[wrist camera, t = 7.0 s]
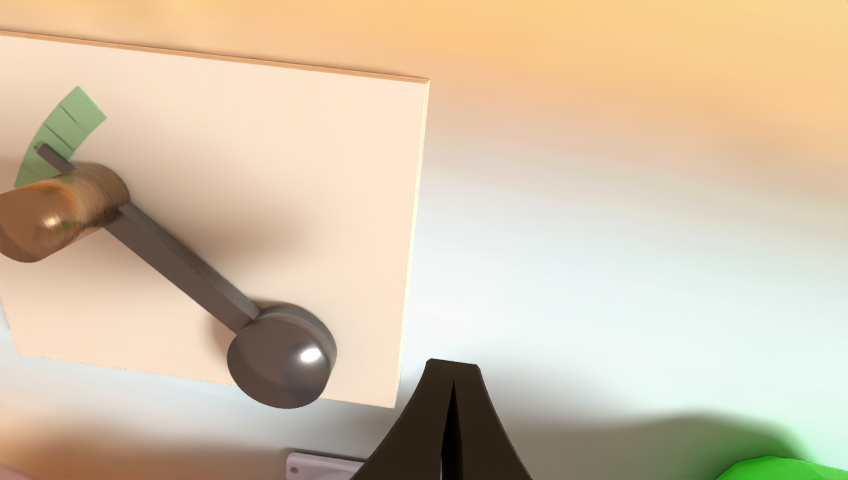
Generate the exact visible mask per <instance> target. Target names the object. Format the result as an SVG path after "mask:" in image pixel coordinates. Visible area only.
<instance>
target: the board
mask: <svg viewBox="0 0 848 480" xmlns="http://www.w3.org/2000/svg"><path fill="white" fill-rule="evenodd" d="M429 85H430V79H424V78H415V77H406V76H398V75H389V74H380V73H371V72H363V71H354V70H345V69H336V68H328V67H319V66H310V65H301V64H292V63H284V62H275V61H266V60H257V59H249V58H240V57H231V56H222V55H214V54H205V53H196V52H187V51H178V50H170V49H161V48H152V47H143V46H135V45H126V44H117V43H108V42H99V41H91V40H82V39H73V38H64V37H56V36H47V35H38V34H29V33H21V32H12V31H3V30H0V194H2V193H5V192H8V191H11V190H14V189H17V188H20V187H23V186H26V185H29V184H32V183H35V182H38V181H41V180H44V179H47V178H50V177H53V176H56V175H59V174H62V173H61V172H59V171H58V170H57V169H56V168H54V167H53V166H52V165H51V164H49V163H48V162H47V161H46V160H45V159H43V158H42V157H41V156H40V155H38V154H37V151H38V150H39V148H40V147H41V145H42V144H45V143H47V144H48V145H49V146H50V147H52V148H53V149H54V150H55V151H57V152H58V153H59V154H60V155H61V156H63V157H64V158H65V159H66V160H67V161H69V162H70V163H71V164H72V165H74V166H75V167H76V168H79V167H82V166H85V165H90V164H97V165H102V166H104V167H107V168H109V169H111V170H112V171H114V172H115V173H116V174H117V175H118V176H120V178H121V179H122V180H123V181H124V183H125V184H126V186H127V188H128V190H129V193H130V198H131V202H132V203H133V204H134V205H136V206H137V207H138V208H139V209H140V210H142V211H143V212H144V213H145V214H146V215H148V216H149V217H150V218H151V219H152V220H154V221H155V222H156V223H157V224H159V225H160V226H161V227H162V228H163V229H165V230H166V231H167V232H168V233H169V234H171V235H172V236H173V237H174V238H175V239H177V240H178V241H179V242H180V243H181V244H183V245H184V246H185V247H186V248H187V249H189V250H190V251H191V252H192V253H193V254H195V255H196V256H197V257H198V258H199V259H201V260H202V261H203V262H204V263H205V264H207V265H208V266H209V267H210V268H212V269H213V270H214V271H215V272H216V273H218V274H219V275H220V276H221V277H222V278H224V279H225V280H226V281H227V282H228V283H230V284H231V285H232V286H233V287H234V288H236V289H237V290H238V291H239V292H240V293H242V294H243V295H244V296H245V297H246V298H248V299H249V300H250V301H251V302H252V303H254V304H255V305H256V306H257V307H258V308H260V309H261V310H262V309H264V308H267V307H271V306H291V307H296V308H299V309H302V310H304V311H307V312H309V313H311V314H312V315H314V316H315V317H317V318H318V319H319V320H321V321H322V322H323V323H324V324H325V325H326V327H327V328H328V329H329V330H330V332H331V334H332V335H333V338H334V340H335V343H336V347H337V358H336V362H335V365H334V368H333V370H332V373H331V375H330V377H329V380H328V382H327V385H326V387H325V389H324V391H323V393H322V394H321V395H320V396H319V397H318V398H325V399H332V400H339V401H346V402H353V403H359V404H366V405H373V406H380V407H387V408H394V407H395V402H396V397H397V392H398V387H399V383H400V375H401V365H402V355H403V345H404V335H405V325H406V315H407V305H408V295H409V285H410V275H411V265H412V255H413V245H414V235H415V225H416V215H417V205H418V195H419V185H420V175H421V165H422V155H423V145H424V135H425V125H426V115H427V105H428V95H429ZM0 297H1V300H2V303H3V307H4V310H5V313H6V316H7V320H8V323H9V326H10V329H11V333H12V336H13V339H14V342H15V346H16V349H17V352H18V354H20V355H27V356H34V357H41V358H48V359H55V360H62V361H69V362H76V363H82V364H89V365H96V366H103V367H110V368H117V369H124V370H131V371H138V372H145V373H152V374H159V375H166V376H172V377H179V378H186V379H193V380H200V381H207V382H214V383H221V384H228V385H235V386H238V385H237V384H236V383H235V382H234V380H233V378H232V377H231V374H230V372H229V369H228V366H227V352H228V348H229V346H230V344H231V342H232V340H233V339H234V338H235V336H236V334H235V333H234V332H233V331H231V330H230V329H229V328H228V327H226V326H225V325H224V324H223V323H221V322H220V321H219V320H218V319H216V318H215V317H214V316H213V315H211V314H210V313H209V312H208V311H206V310H205V309H204V308H203V307H201V306H200V305H199V304H198V303H196V302H195V301H194V300H193V299H191V298H190V297H189V296H188V295H186V294H185V293H184V292H183V291H182V290H180V289H179V288H178V287H177V286H175V285H174V284H173V283H172V282H170V281H169V280H168V279H167V278H165V277H164V276H163V275H162V274H160V273H159V272H158V271H157V270H155V269H154V268H153V267H152V266H150V265H149V264H148V263H147V262H145V261H144V260H143V259H142V258H140V257H139V256H138V255H137V254H135V253H134V252H133V251H132V250H130V249H129V248H128V247H127V246H125V245H124V244H123V243H122V242H120V241H119V240H118V239H117V238H115V237H114V236H113V235H112V234H110V233H109V232H108V231H107V230H105V229H104V228H101V229H100V230H98V231H96V232H94V233H92V234H90V235H88V236H86V237H84V238H82V239H80V240H78V241H77V242H75V243H73V244H71V245H69V246H67V247H65V248H63V249H61V250H59V251H57V252H55V253H54V254H52V255H50V256H48V257H46V258H44V259H42V260H40V261H38V262H34V263H22V262H18V261H15V260H12V259H10V258H8V257H6V256H5V255H3V254H2V253H0Z"/></svg>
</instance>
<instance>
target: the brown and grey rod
mask: <svg viewBox="0 0 848 480" xmlns="http://www.w3.org/2000/svg"><path fill="white" fill-rule="evenodd" d="M37 154H38V155H40V156H41V157H42V158H43V159H45V160H46V161H47V162H48V163H49V164H51V165H52V166H53V167H54V168H56V169H57V170H58V171H59V172H61V173H62V174H59V175H56V176H53V177H50V178H47V179H44V180H41V181H38V182H35V183H32V184H29V185H26V186H23V187H20V188H17V189H14V190H11V191H8V192H5V193H2V194H0V253H2V254H3V255H5V256H6V257H8V258H10V259H12V260H15V261H18V262H22V263H34V262H38V261H40V260H42V259H44V258H46V257H48V256H50V255H52V254H54V253H55V252H57V251H59V250H61V249H63V248H65V247H67V246H69V245H71V244H73V243H75V242H77V241H78V240H80V239H82V238H84V237H86V236H88V235H90V234H92V233H94V232H96V231H98V230H100V229H101V228H104V229H105V230H107V231H108V232H109V233H110V234H112V235H113V236H114V237H115V238H117V239H118V240H119V241H120V242H122V243H123V244H124V245H125V246H127V247H128V248H129V249H130V250H132V251H133V252H134V253H135V254H137V255H138V256H139V257H140V258H142V259H143V260H144V261H145V262H147V263H148V264H149V265H150V266H152V267H153V268H154V269H155V270H157V271H158V272H159V273H160V274H162V275H163V276H164V277H165V278H167V279H168V280H169V281H170V282H172V283H173V284H174V285H175V286H177V287H178V288H179V289H180V290H182V291H183V292H184V293H185V294H186V295H188V296H189V297H190V298H191V299H193V300H194V301H195V302H196V303H198V304H199V305H200V306H201V307H203V308H204V309H205V310H206V311H208V312H209V313H210V314H211V315H213V316H214V317H215V318H216V319H218V320H219V321H220V322H221V323H223V324H224V325H225V326H226V327H228V328H229V329H230V330H231V331H233V332H234V333H235V334H236V336H235V338H234V339H233V340H232V342H231V344H230V346H229V348H228V352H227V366H228V369H229V372H230V374H231V377H232V378H233V380H234V382H235V383H236V384H237V385H238V387H239V388H240V389H241V390H242V391H243V392H244V393H246V394H247V395H248V396H250V397H251V398H253V399H254V400H256V401H258V402H260V403H262V404H265V405H268V406H271V407H276V408H283V409H291V408H298V407H302V406H305V405H308V404H310V403H312V402H313V401H315V400H316V399H317V398H318V397H319V396H320V395H321V394H322V393H323V391H324V389H325V387H326V385H327V382H328V380H329V377H330V375H331V373H332V370H333V368H334V365H335V362H336V358H337V347H336V343H335V340H334V338H333V335H332V334H331V332H330V330H329V329H328V328H327V327H326V325H325V324H324V323H323V322H322V321H321V320H319V319H318V318H317V317H315V316H314V315H312V314H311V313H309V312H307V311H304V310H302V309H299V308H296V307H291V306H271V307H267V308H264V309H262V310H261V309H260V308H258V307H257V306H256V305H255V304H254V303H252V302H251V301H250V300H249V299H248V298H246V297H245V296H244V295H243V294H242V293H240V292H239V291H238V290H237V289H236V288H234V287H233V286H232V285H231V284H230V283H228V282H227V281H226V280H225V279H224V278H222V277H221V276H220V275H219V274H218V273H216V272H215V271H214V270H213V269H212V268H210V267H209V266H208V265H207V264H205V263H204V262H203V261H202V260H201V259H199V258H198V257H197V256H196V255H195V254H193V253H192V252H191V251H190V250H189V249H187V248H186V247H185V246H184V245H183V244H181V243H180V242H179V241H178V240H177V239H175V238H174V237H173V236H172V235H171V234H169V233H168V232H167V231H166V230H165V229H163V228H162V227H161V226H160V225H159V224H157V223H156V222H155V221H154V220H152V219H151V218H150V217H149V216H148V215H146V214H145V213H144V212H143V211H142V210H140V209H139V208H138V207H137V206H136V205H134V204H133V203H132V202H131V198H130V193H129V190H128V188H127V186H126V184H125V183H124V181H123V180H122V179H121V178H120V176H118V175H117V174H116V173H115V172H114V171H112V170H111V169H109V168H107V167H104V166H102V165H97V164H90V165H85V166H82V167H79V168H76V167H75V166H74V165H72V164H71V163H70V162H69V161H67V160H66V159H65V158H64V157H63V156H61V155H60V154H59V153H58V152H57V151H55V150H54V149H53V148H52V147H50V146H49V145H48V144H47V143H45V144H42V145H41V147H40V148H39V150H38V151H37Z"/></svg>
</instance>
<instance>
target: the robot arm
mask: <svg viewBox="0 0 848 480" xmlns="http://www.w3.org/2000/svg"><path fill="white" fill-rule="evenodd" d="M441 457H442V480H533V479H532V478H531V476H530V475H529V473H528V471H527V470H526V468H525V467H524V465H523V463H522V462H521V460H520V458H519V456H518V455H517V453H516V451H515V449H514V447H513V446H512V444H511V442H510V440H509V438H508V436H507V434H506V432H505V430H504V428H503V426H502V424H501V422H500V420H499V418H498V416H497V413H496V411H495V409H494V407H493V404H492V402H491V400H490V397H489V395H488V392H487V389H486V387H485V384H484V381H483V378H482V374H481V371H480V368H479V367H478V366H477V365H476V364H468V363H461V362H454V361H447V360H440V359H433V358H431V359H429V360H428V361H426V366H425V369H424V372H423V375H422V377H421V379H420V381H419V383H418V386H417V388H416V390H415V392H414V393H413V395H412V397H411V399H410V400H409V402H408V404H407V405H406V407H405V409H404V411H403V412H402V414H401V415H400V417H399V418H398V420H397V421H396V423H395V424H394V426H393V427H392V428H391V430H390V431H389V433H388V434H387V436H386V437H385V438H384V440H383V441H382V442H381V444H380V445H379V446H378V447H377V449H376V450H375V451H374V452H373V453H372V455H371V456H370V457H369V458H368V460H367V461H366V462H365V463H362V462H356V461H349V460H342V459H336V458H329V457H322V456H316V455H309V454H302V453H291V454H289V455H288V457H287V460H286V480H440V471H441Z"/></svg>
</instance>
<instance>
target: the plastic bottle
mask: <svg viewBox="0 0 848 480" xmlns="http://www.w3.org/2000/svg"><path fill="white" fill-rule="evenodd" d="M715 480H848V471H845V470H841V469H837V468H833V467H828V466H823V465H819V464H814V463H810V462H805V461H801V460H796V459H792V458H781V457H777V456H772V455H768V456H764V457H759V458H754V459H750V460H745V461H741V462H736V463H735V464H734V465H733V466H731V467H730V468H729V469H728V470H726V471H725V472H724V473H723V474H721V475H720V476H719V477H718V478H716V479H715Z"/></svg>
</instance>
